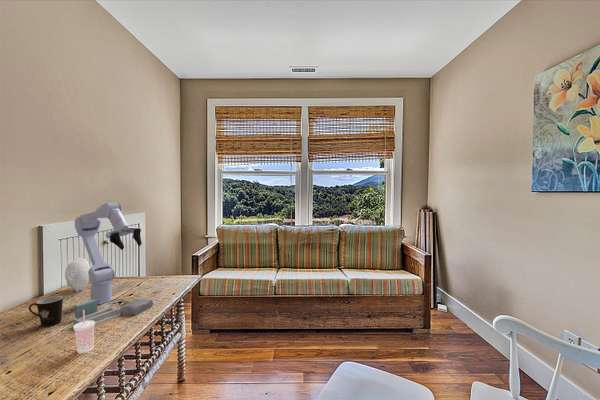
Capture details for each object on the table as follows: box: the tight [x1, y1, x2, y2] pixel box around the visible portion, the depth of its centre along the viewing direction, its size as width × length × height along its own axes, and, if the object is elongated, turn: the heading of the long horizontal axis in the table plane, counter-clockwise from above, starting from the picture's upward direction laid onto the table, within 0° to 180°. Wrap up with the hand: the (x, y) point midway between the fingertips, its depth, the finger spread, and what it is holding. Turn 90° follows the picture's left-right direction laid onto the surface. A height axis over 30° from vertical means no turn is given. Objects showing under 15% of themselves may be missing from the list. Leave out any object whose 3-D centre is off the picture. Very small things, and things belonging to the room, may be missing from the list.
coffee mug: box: [28, 295, 64, 328], centre depth 129 cm, size 12×9×10 cm
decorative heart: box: [64, 257, 91, 294], centre depth 169 cm, size 18×11×17 cm, turn 25°
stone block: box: [119, 298, 154, 316], centre depth 142 cm, size 12×5×10 cm
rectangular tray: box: [73, 305, 122, 326], centre depth 131 cm, size 7×15×3 cm, turn 152°
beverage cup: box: [73, 310, 96, 354], centre depth 107 cm, size 6×6×14 cm
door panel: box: [74, 299, 99, 319], centre depth 135 cm, size 2×8×6 cm, turn 152°
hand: (131, 246), depth 137 cm, fingers open, 7 cm apart
